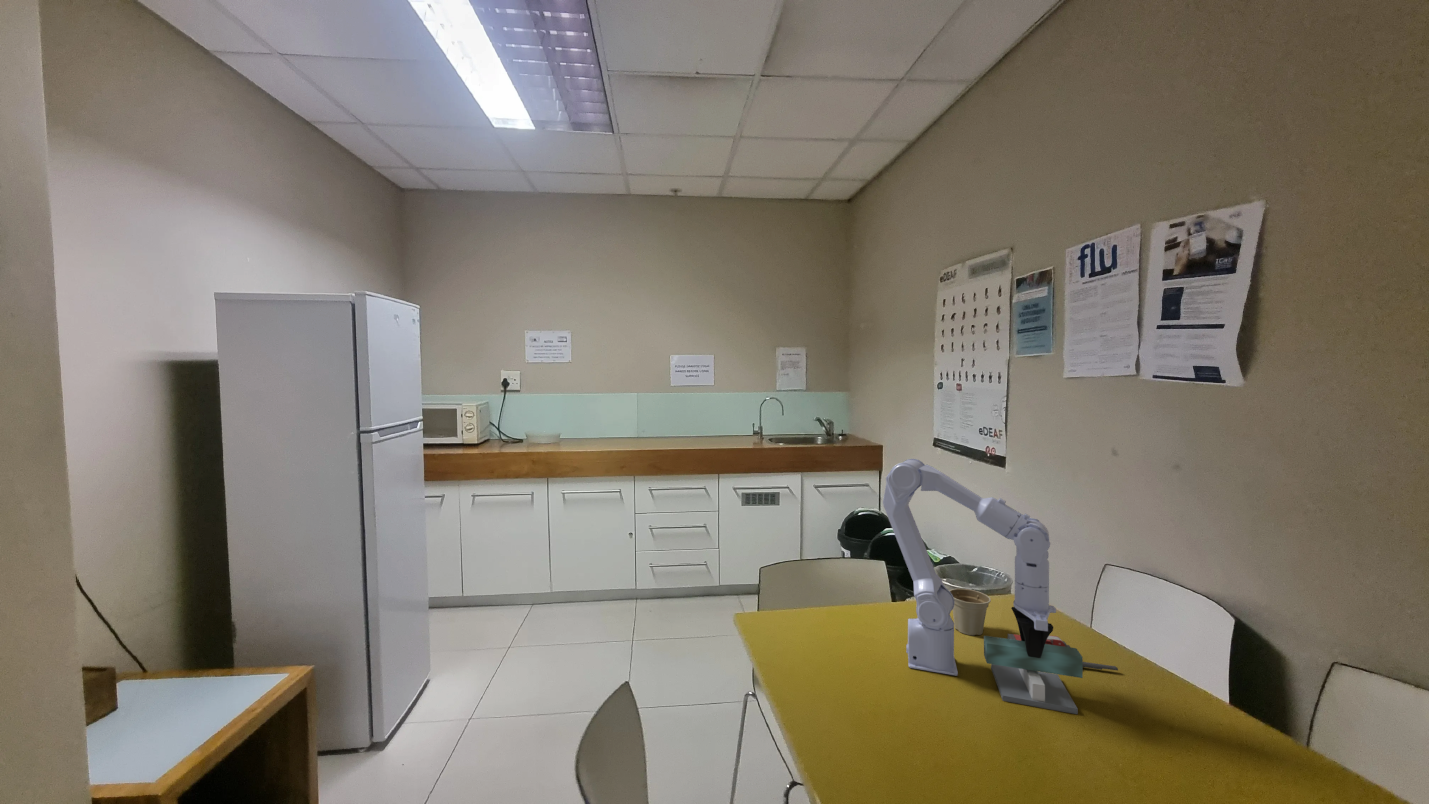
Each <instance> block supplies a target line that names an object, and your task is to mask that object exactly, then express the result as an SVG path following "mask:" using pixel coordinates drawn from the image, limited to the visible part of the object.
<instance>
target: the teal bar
mask: <svg viewBox="0 0 1429 804" xmlns="http://www.w3.org/2000/svg"><path fill="white" fill-rule="evenodd" d="M983 656H984V659H985V662H986V664H989V665H991V664H994V665H1001V666H1007V667H1014V668H1020V669H1027V670H1033V671H1039V672H1045V673H1051V674H1057V675H1058V676H1066V677H1074V678H1080V679H1083V672H1084V670H1083V668H1084V667H1083V662H1084V661H1083V659H1084V658H1083V656H1082V654H1081V653H1080V652H1079V650H1078V649H1077V648H1076V647H1071V646H1070V647H1064V646H1057V645H1049V644H1045V645H1044V649H1043V653H1042V656H1041V658H1035V657H1029V656H1028V654H1027V651H1026V646H1025V641H1020V640H1013V639H1008V638H1006V637H1005V638H1004V637H998V636H990V635H983Z"/></svg>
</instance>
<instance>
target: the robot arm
mask: <svg viewBox="0 0 1429 804" xmlns="http://www.w3.org/2000/svg"><path fill="white" fill-rule="evenodd" d="M919 488H920V491H921V492H938V493H941V494H942V495H944V496H946V497H947V498H949V499H950V500H953V501H955V502H957V503H958V504H960V505H962V506H963V507H965V508H967V509H968V510H971V511H973V512H974V515H975V518H976V520H977V521H978V522H980V523H981V524H983V525H984V526H986V527H988V528H989V529H991V530H993V531H994V532H996V533H998V534H999V535H1001V536H1002V537H1004V538H1005V539H1007V540H1010V541H1011V540H1012V541H1013V543H1014V545H1015V548H1016V552H1015V554H1016V555H1015V556H1014V600H1013V606H1012V607H1011V610H1012V612H1013V615H1014V617H1015V620H1016V623H1017V627H1018V630H1019V635H1020V637H1021V641H1025V646H1026V651H1027V654H1028V656H1029V657H1035V658H1041V656H1042V653H1043V649H1044V645H1045V642H1046V640H1047V638H1048V636H1051V634H1052V633H1053V631H1054V625H1053V623H1049V621H1048V620H1049V616H1050V614H1056V613H1057V608H1056V607H1055V606H1054V605H1050V562H1049V560H1048V559H1049V549H1050V547H1051V542H1050V533H1049V530H1048V529H1047V527H1046V526H1045V524H1044V523H1042V522H1041V521H1040V520H1039V519H1037V518H1033V517H1031V516H1030V515H1029V514H1027V513H1024V514H1023V513H1021V512H1019V511H1017V510H1016V509H1014V508H1012V507H1011V506H1009V505H1007V504H1006V500H1005V499H1003V498H1002V497H999V498H998V499H997V498H995V497H994V496H991V497H981V496H980V495H979V494H976V493H975V492H974V491H972V490H970V489H969V488H968V487H966V486H964V485H962V484H961V483H959V482H957V481H956V480H954V479H953V478H951V477H950V476H948V475H946V474H945V473H944V472H942V471H941V470H939V469H937V468H936V467H934V466H932V465H930V464H925V463H924V462H923V461H921V460H919V459H916V458H908V459H906V460H905V459H904V461H902V462H898V463H897V464H895V465H894V466H892V468H891V470H890V471H889V472H888V474H887V475H886V477H885V487H884V492H883V493H884V494H883V500H882V505H883V508H884V511H885V513H886V516H887V518H888V521H889V523H890V527H891V529H892V531H893V533H894V537H895V538H896V541H897V544H898V546H899V549H900V551H901V554H902V556H903V560H904V562H905V564H906V567H907V568H908V569H907V570H908V572H909V575H910V577H911V579H912V581H913V596H914V599H915V602H916V606H915V609H916V610H915V612H916V616H917V617H916V618H908V619H907V643H906V649H905V650H906V654H907V658H908V659H907V660H908V663H907V664H908V667H909V668H910V669H915V670H921V671H925V672H926V671H927V672H933V673H938V674H944V675H950V676H956V677H957V676H959V673H958V668H957V664H956V659H955V624H954V619H952V617H951V613H952V612H953V608H954V604H955V602H954V597H953V595H952V594H951V592H950V590H949V589H948V588H947V587H946V585H945V584H944V582H943V580H942V578H941V577H940V576H939V575H938V574H937V572H936V570H935V568H934V565H933V563H932V560H931V557H930V555H929V552H928V550H927V548H926V545H925V542H924V541H923V539H922V536H921V533H920V531H919V528H918V525H917V523H916V521H915V517H914V516H913V513H912V511H911V508H910V506H909V504H910V502H911V500H912V498H913V497H914V494H915V492H916V491H917V490H918V489H919Z"/></svg>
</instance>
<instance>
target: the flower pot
mask: <svg viewBox="0 0 1429 804" xmlns="http://www.w3.org/2000/svg"><path fill="white" fill-rule="evenodd" d="M949 591H950V592H951V594H952V595H953V597H954V602H955V604H954V608H953V609H952V616H953V622H954V630H957V631H958V632H959V633H961V634H964V635H968V636H975V635H978V636H981V635H982V634H983V632H984V628H985V627H984V626H985V620H986V615H987V610H988V609H987V608H989V604H990V603H991V600H992V599H991V597H990V596H989V595H988V594H986V593H984V592H980V591H978V590H974V589H969V588H968V589H967V588H953V589H950V590H949Z"/></svg>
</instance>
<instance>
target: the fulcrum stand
mask: <svg viewBox="0 0 1429 804" xmlns="http://www.w3.org/2000/svg"><path fill="white" fill-rule="evenodd" d="M990 669H991V672H992V675H993V678H994V680H995V683H996V686H997V689H998V692H999V694H1000V696H1001V699H1002V702H1009V703H1013V704H1019V705H1024V706H1030V707H1035V708H1041V709H1045V710H1052V711H1057V712H1062V713H1069V714H1074V715H1078V713H1079V711H1078V710H1079V709H1078V706H1077V705H1076V704H1075V702H1074V700H1073V698H1072V697H1071V695H1070V693H1069V691H1068V689H1067V688H1066V686H1065V684H1064V683H1063V681H1062V679H1061V678H1060V675H1059V674H1053V673H1046V672H1040V671H1033V670H1027V669H1020V668H1014V667H1007V666H1001V665H994V664H990Z"/></svg>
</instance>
